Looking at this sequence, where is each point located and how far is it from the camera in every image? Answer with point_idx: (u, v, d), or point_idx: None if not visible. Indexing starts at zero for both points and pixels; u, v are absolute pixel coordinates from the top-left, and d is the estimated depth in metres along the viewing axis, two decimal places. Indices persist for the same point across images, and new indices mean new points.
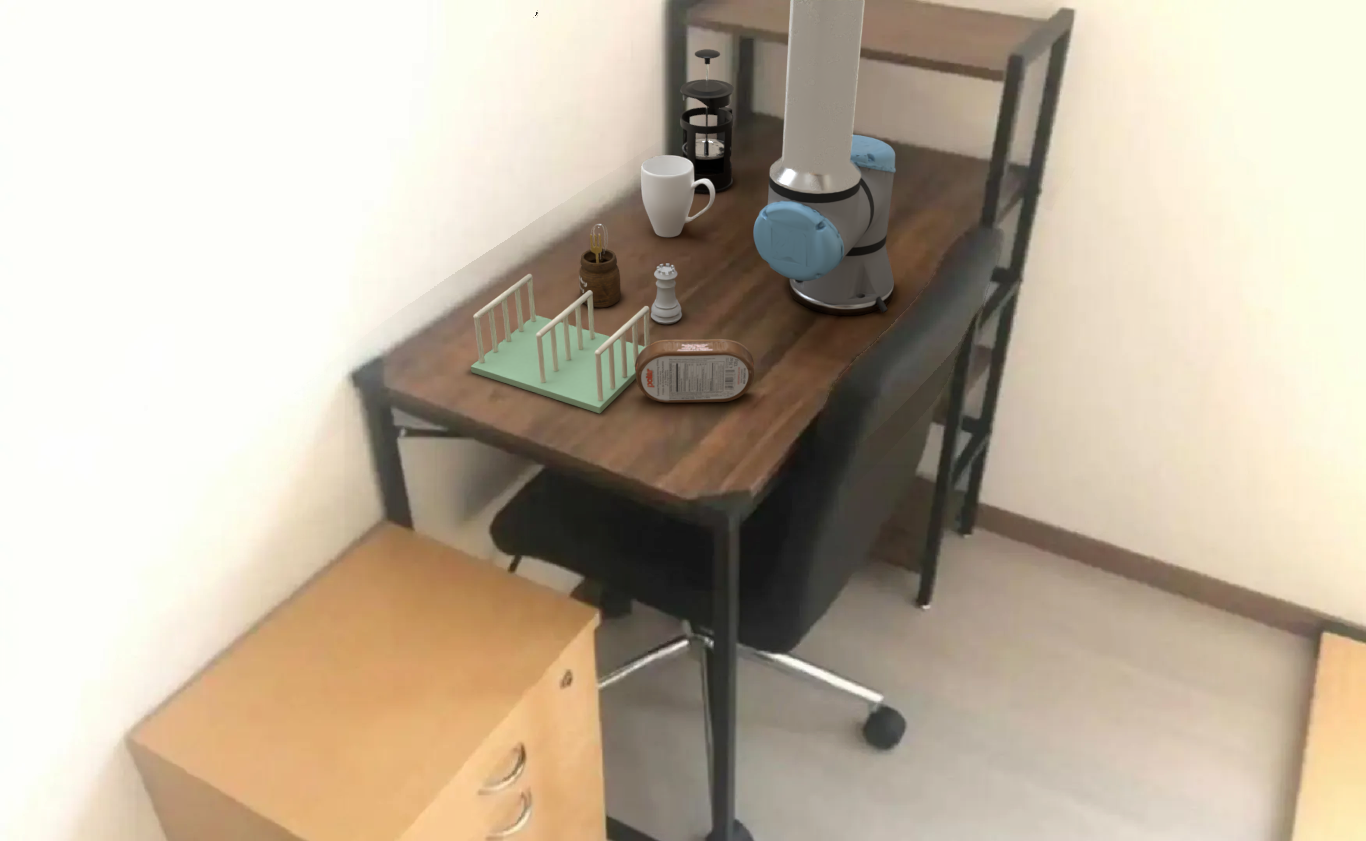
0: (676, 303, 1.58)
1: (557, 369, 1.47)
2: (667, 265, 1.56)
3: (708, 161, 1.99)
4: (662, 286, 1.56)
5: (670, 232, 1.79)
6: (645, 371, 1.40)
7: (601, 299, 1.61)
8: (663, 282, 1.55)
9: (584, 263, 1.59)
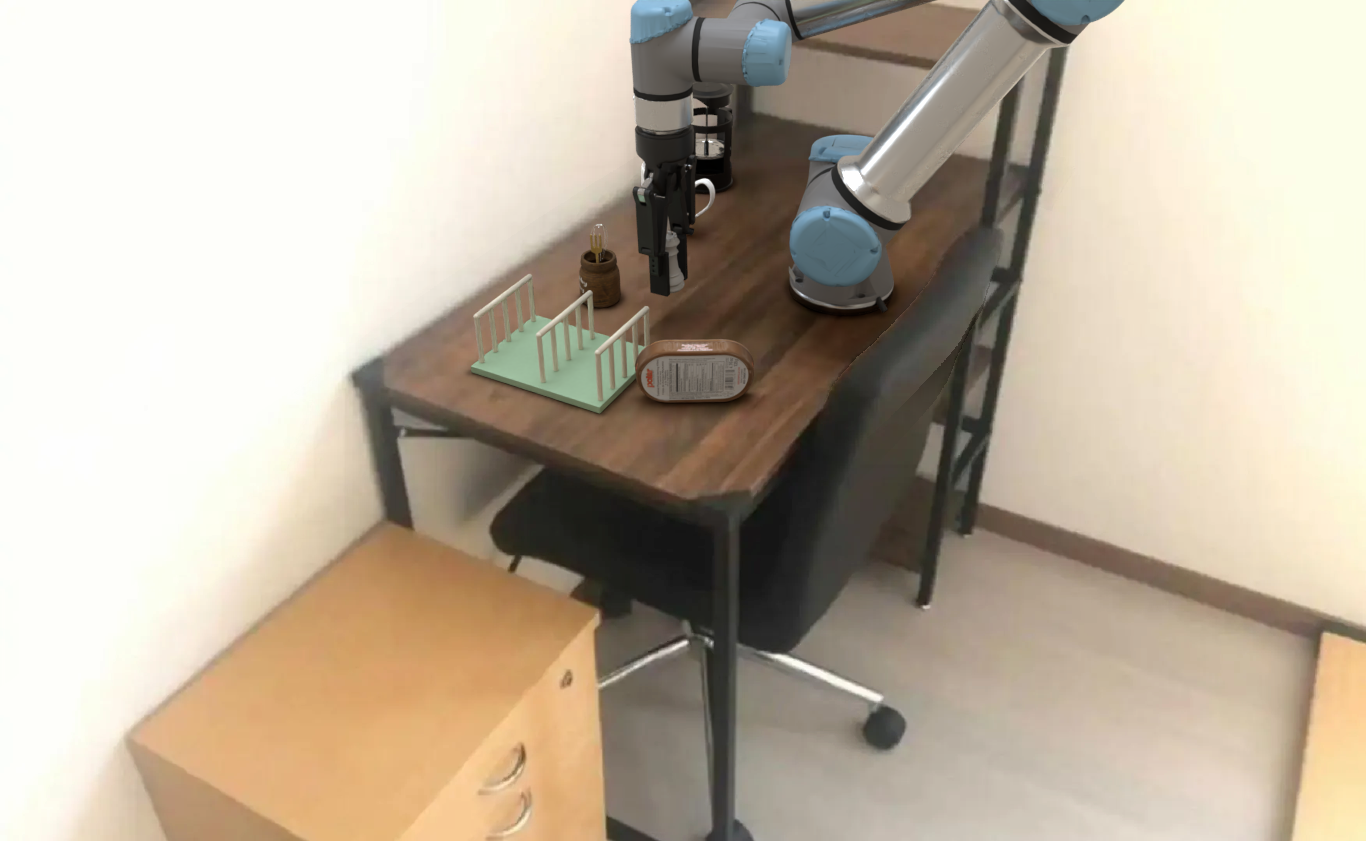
0: (679, 272, 1.55)
1: (557, 369, 1.47)
2: (669, 233, 1.53)
3: (708, 161, 1.99)
4: None
5: None
6: (645, 371, 1.40)
7: (601, 299, 1.61)
8: (665, 250, 1.52)
9: (584, 263, 1.59)
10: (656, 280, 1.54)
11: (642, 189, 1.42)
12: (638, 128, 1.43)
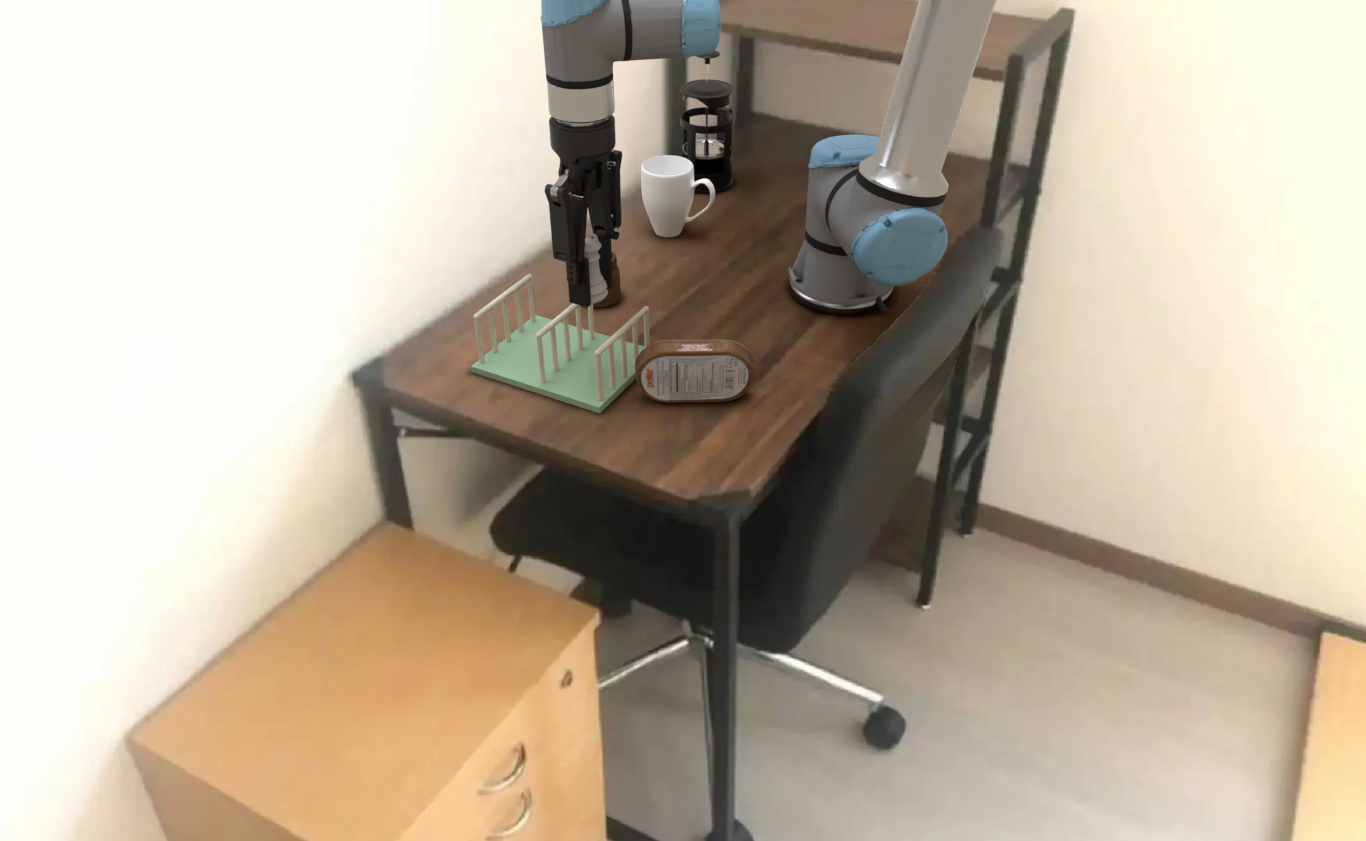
0: (601, 279, 1.40)
1: (557, 369, 1.47)
2: (590, 236, 1.38)
3: (708, 161, 1.99)
4: None
5: (670, 232, 1.79)
6: (645, 371, 1.40)
7: None
8: (585, 255, 1.37)
9: None
10: (575, 288, 1.38)
11: (555, 187, 1.27)
12: (552, 119, 1.27)
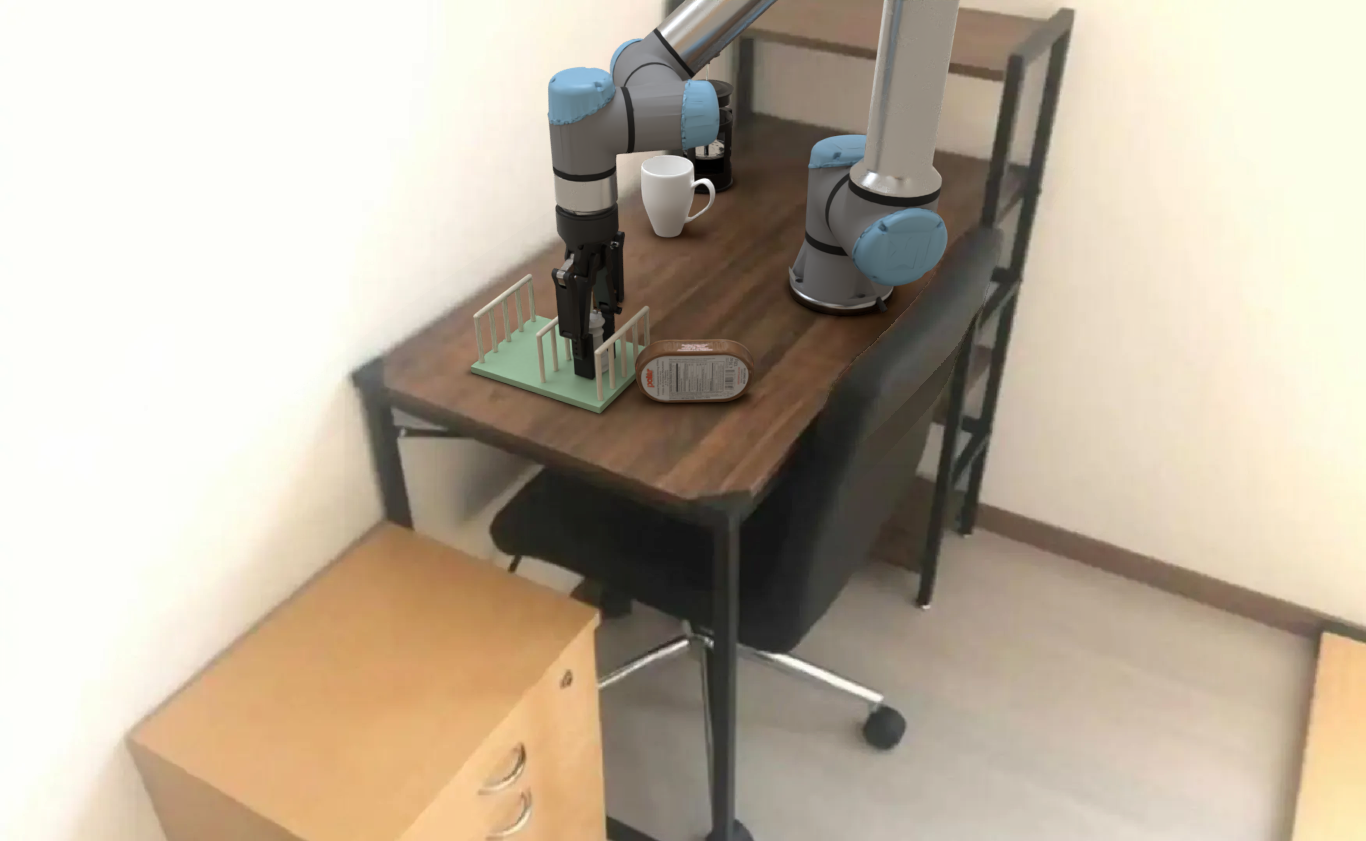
0: (604, 352, 1.46)
1: (557, 369, 1.47)
2: (594, 312, 1.44)
3: (708, 161, 1.99)
4: None
5: (670, 232, 1.79)
6: (645, 371, 1.40)
7: None
8: (589, 330, 1.43)
9: None
10: (580, 362, 1.44)
11: (561, 272, 1.33)
12: (558, 206, 1.34)
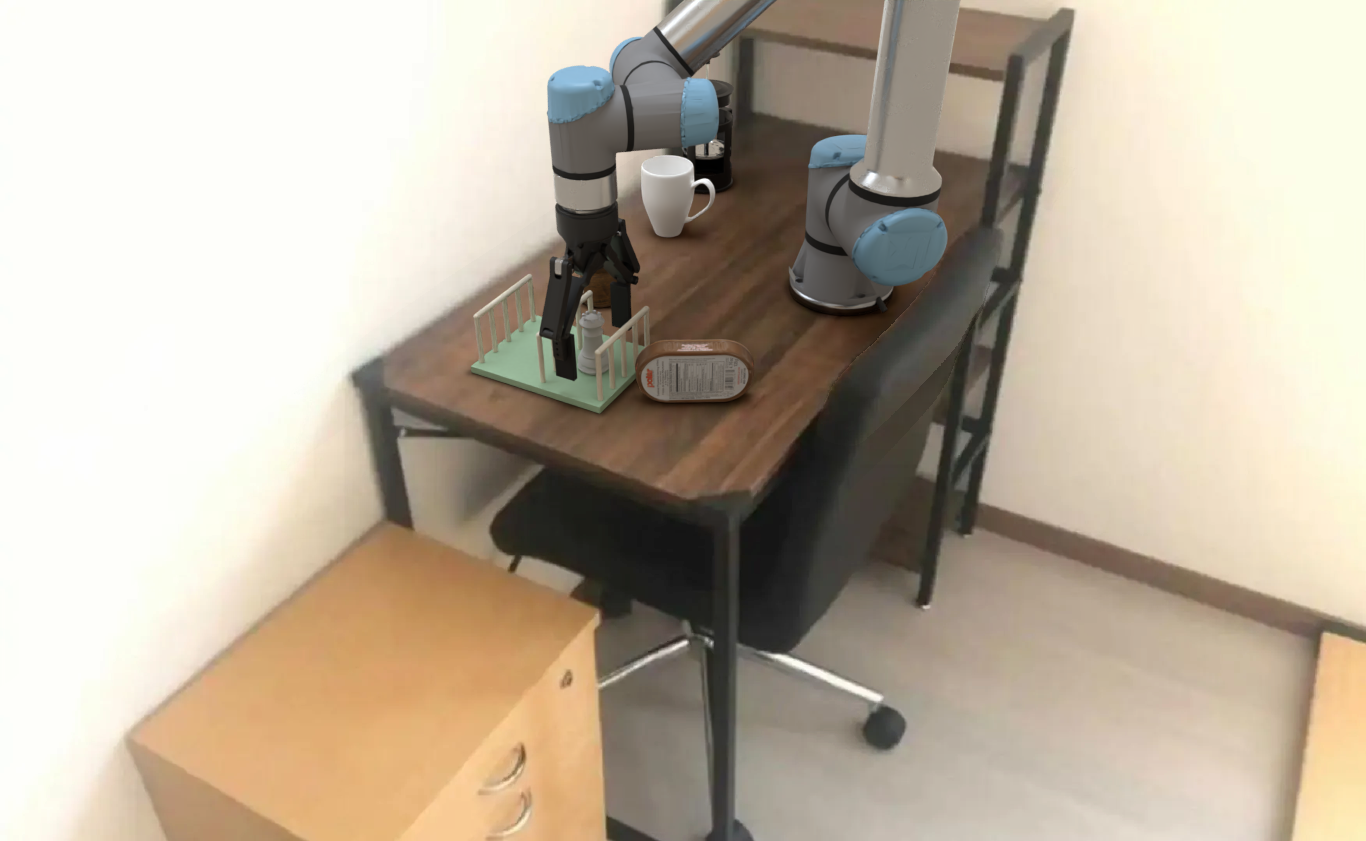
0: (604, 352, 1.46)
1: None
2: (593, 312, 1.44)
3: (708, 161, 1.99)
4: (587, 335, 1.43)
5: (670, 232, 1.79)
6: (645, 371, 1.40)
7: (601, 299, 1.61)
8: (589, 330, 1.43)
9: None
10: (561, 363, 1.40)
11: (561, 259, 1.32)
12: (558, 205, 1.33)
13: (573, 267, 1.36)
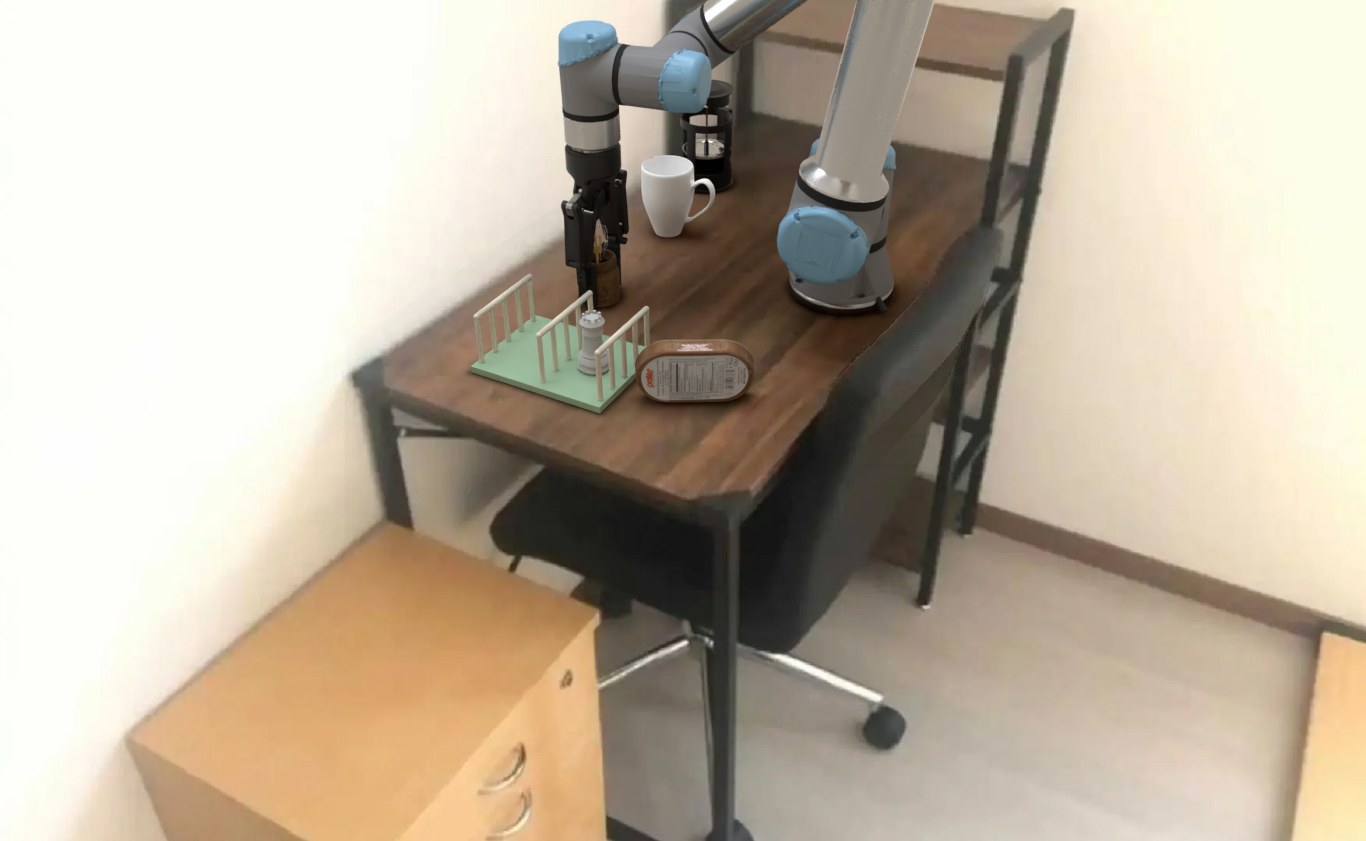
0: (604, 352, 1.46)
1: (557, 369, 1.47)
2: (593, 312, 1.44)
3: (708, 161, 1.99)
4: (587, 335, 1.43)
5: (670, 232, 1.79)
6: (645, 371, 1.40)
7: (601, 299, 1.61)
8: (589, 330, 1.43)
9: None
10: (584, 291, 1.60)
11: (570, 203, 1.49)
12: (568, 146, 1.50)
13: (581, 203, 1.53)
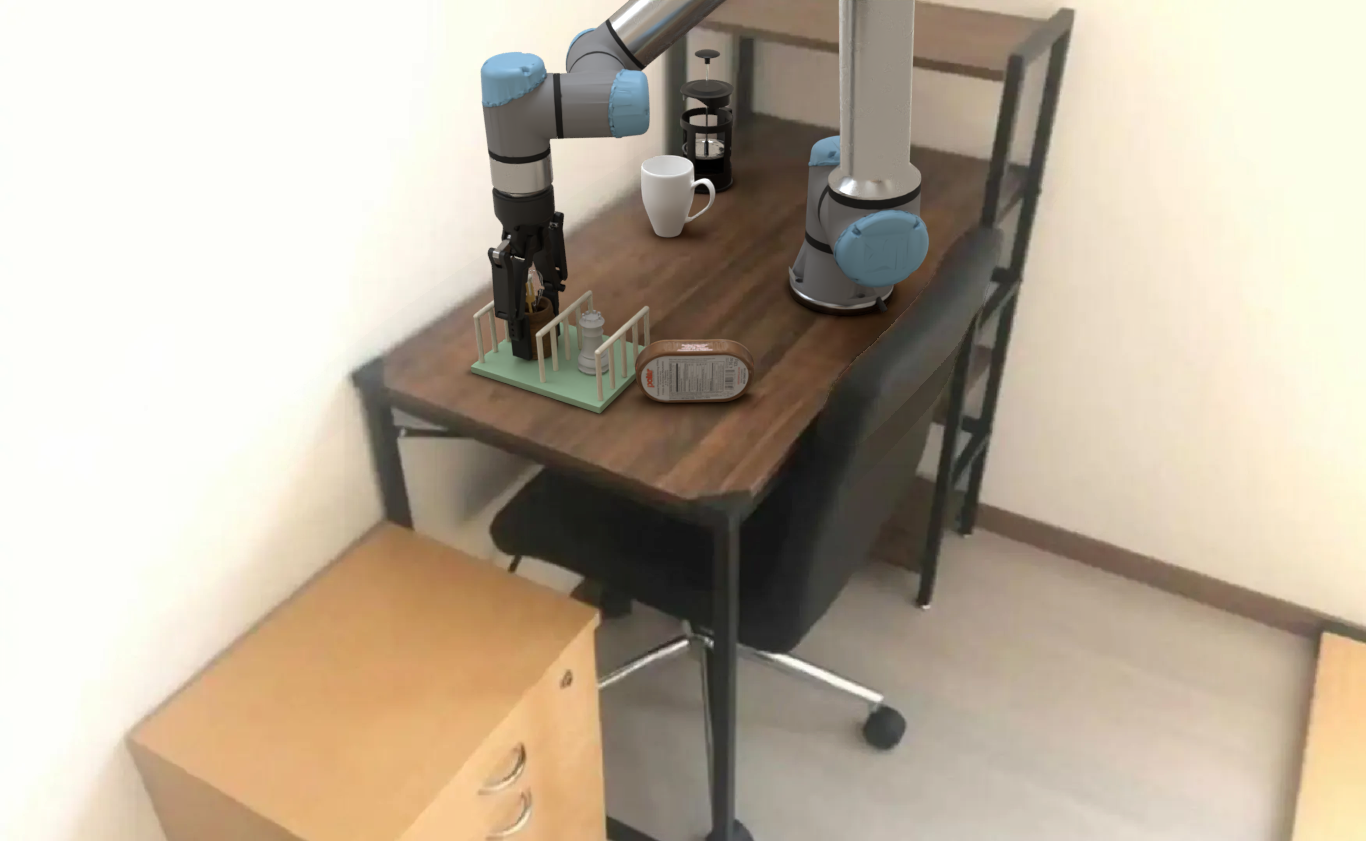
0: (604, 352, 1.46)
1: (557, 369, 1.47)
2: (593, 312, 1.44)
3: (708, 161, 1.99)
4: (587, 335, 1.43)
5: (670, 232, 1.79)
6: (645, 371, 1.40)
7: (536, 351, 1.48)
8: (589, 330, 1.43)
9: None
10: (517, 343, 1.47)
11: (497, 251, 1.36)
12: (495, 188, 1.37)
13: (510, 249, 1.40)
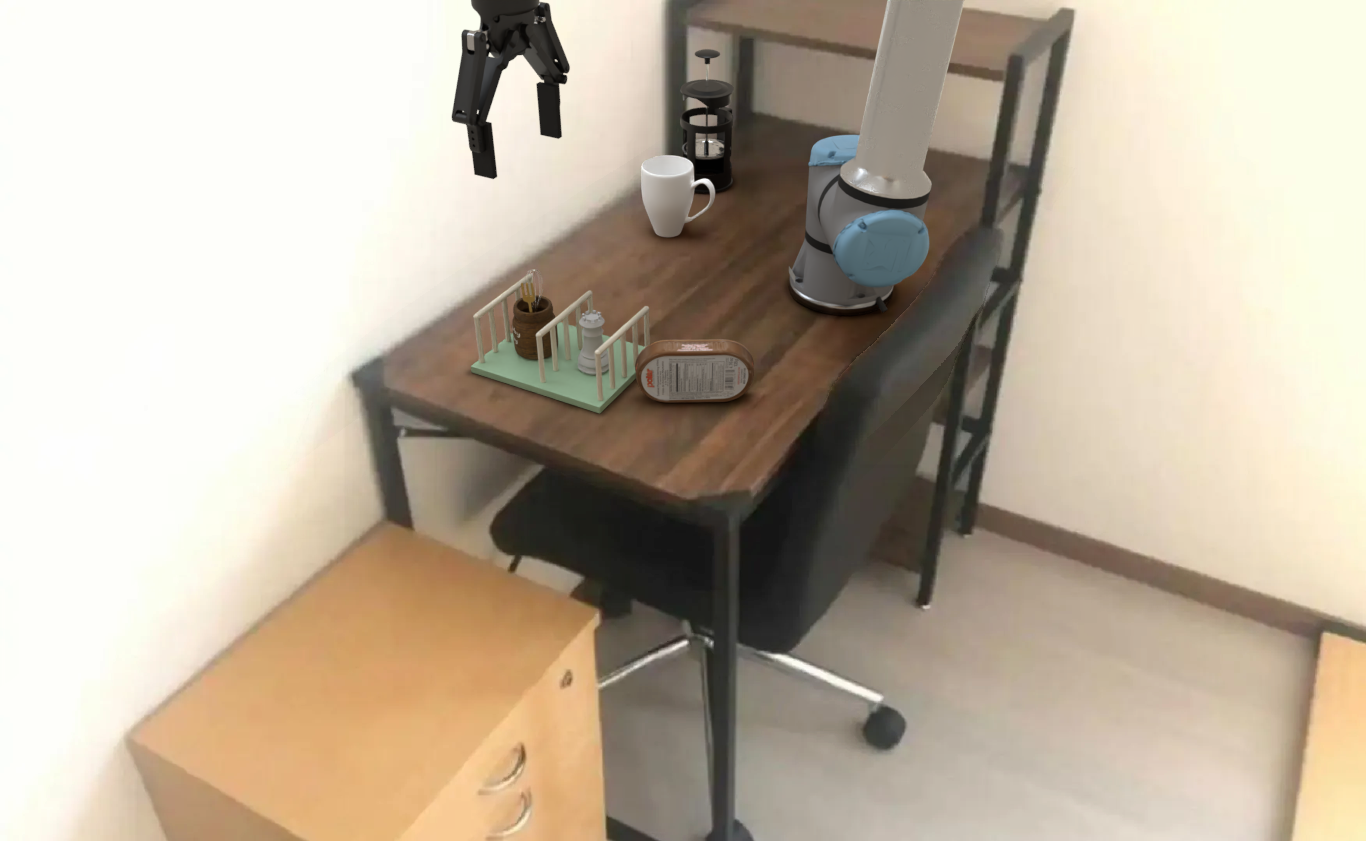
0: (604, 352, 1.46)
1: (557, 369, 1.47)
2: (593, 312, 1.44)
3: (708, 161, 1.99)
4: (587, 335, 1.43)
5: (670, 232, 1.79)
6: (645, 371, 1.40)
7: (536, 351, 1.48)
8: (589, 330, 1.43)
9: (516, 312, 1.46)
10: (479, 158, 1.29)
11: (474, 31, 1.21)
12: None
13: (490, 47, 1.25)
